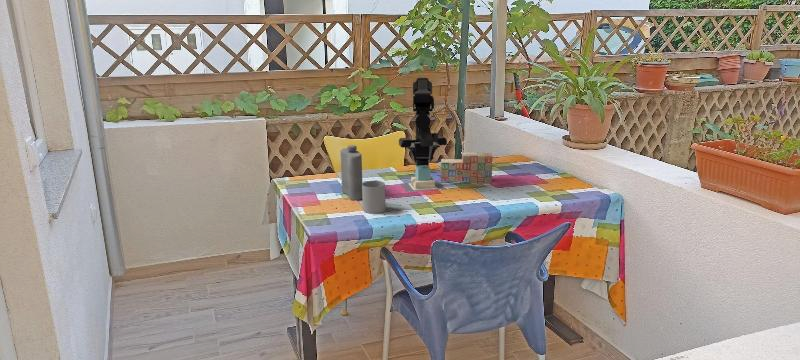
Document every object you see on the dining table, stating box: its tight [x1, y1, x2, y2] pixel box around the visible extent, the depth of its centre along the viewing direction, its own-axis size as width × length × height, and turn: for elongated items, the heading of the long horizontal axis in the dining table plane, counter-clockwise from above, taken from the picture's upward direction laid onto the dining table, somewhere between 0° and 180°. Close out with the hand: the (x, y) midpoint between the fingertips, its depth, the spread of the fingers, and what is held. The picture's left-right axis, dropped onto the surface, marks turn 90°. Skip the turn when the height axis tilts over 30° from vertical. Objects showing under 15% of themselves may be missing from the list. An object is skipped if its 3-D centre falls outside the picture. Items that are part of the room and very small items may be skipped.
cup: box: [362, 180, 387, 215], centre depth 211 cm, size 8×8×10 cm
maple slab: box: [410, 176, 436, 189], centre depth 237 cm, size 8×8×3 cm
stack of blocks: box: [440, 152, 493, 185], centre depth 245 cm, size 21×6×12 cm, turn 85°
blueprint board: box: [400, 180, 446, 193], centre depth 238 cm, size 12×16×1 cm
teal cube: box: [414, 165, 431, 181], centre depth 236 cm, size 5×5×5 cm
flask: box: [339, 144, 363, 201], centre depth 228 cm, size 15×6×20 cm, turn 23°
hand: (422, 162), depth 235 cm, fingers open, 6 cm apart
